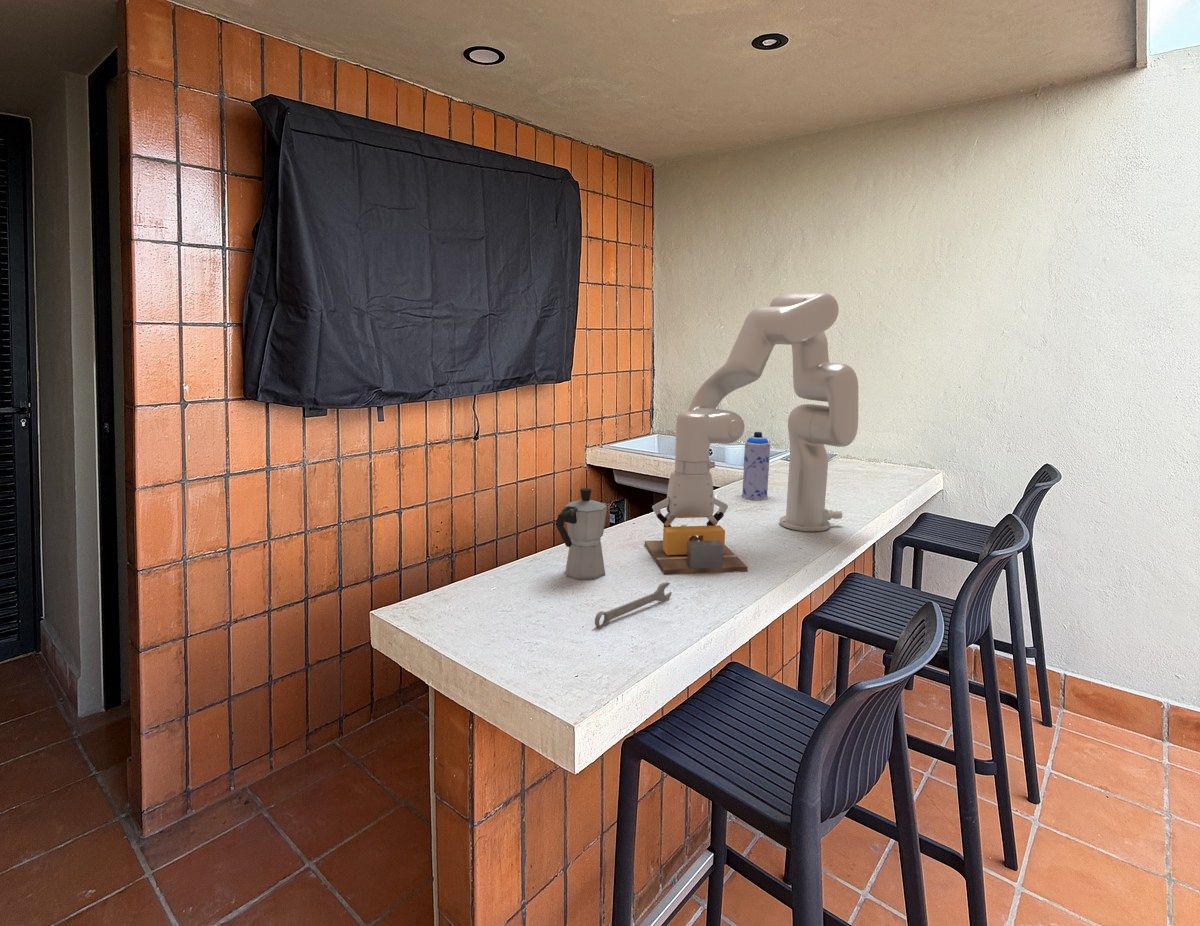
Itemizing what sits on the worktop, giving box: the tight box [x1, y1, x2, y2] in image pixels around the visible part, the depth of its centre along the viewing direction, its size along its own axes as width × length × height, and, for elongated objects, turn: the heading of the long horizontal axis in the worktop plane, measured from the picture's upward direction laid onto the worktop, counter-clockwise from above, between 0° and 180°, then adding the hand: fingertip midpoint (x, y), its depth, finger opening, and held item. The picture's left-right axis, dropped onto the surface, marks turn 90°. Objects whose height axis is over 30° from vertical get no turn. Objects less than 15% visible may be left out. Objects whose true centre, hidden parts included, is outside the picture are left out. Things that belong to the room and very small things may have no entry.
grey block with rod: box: [679, 524, 724, 569], centre depth 155 cm, size 7×19×5 cm, turn 8°
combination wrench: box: [594, 582, 673, 629], centre depth 125 cm, size 4×1×20 cm
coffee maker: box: [555, 487, 608, 581], centre depth 143 cm, size 15×9×18 cm, turn 141°
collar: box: [662, 524, 726, 555], centre depth 155 cm, size 13×4×5 cm, turn 98°
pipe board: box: [644, 539, 749, 575], centre depth 156 cm, size 18×20×1 cm
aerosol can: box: [741, 431, 771, 501], centre depth 210 cm, size 8×8×20 cm
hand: (689, 540), depth 159 cm, fingers open, 9 cm apart
